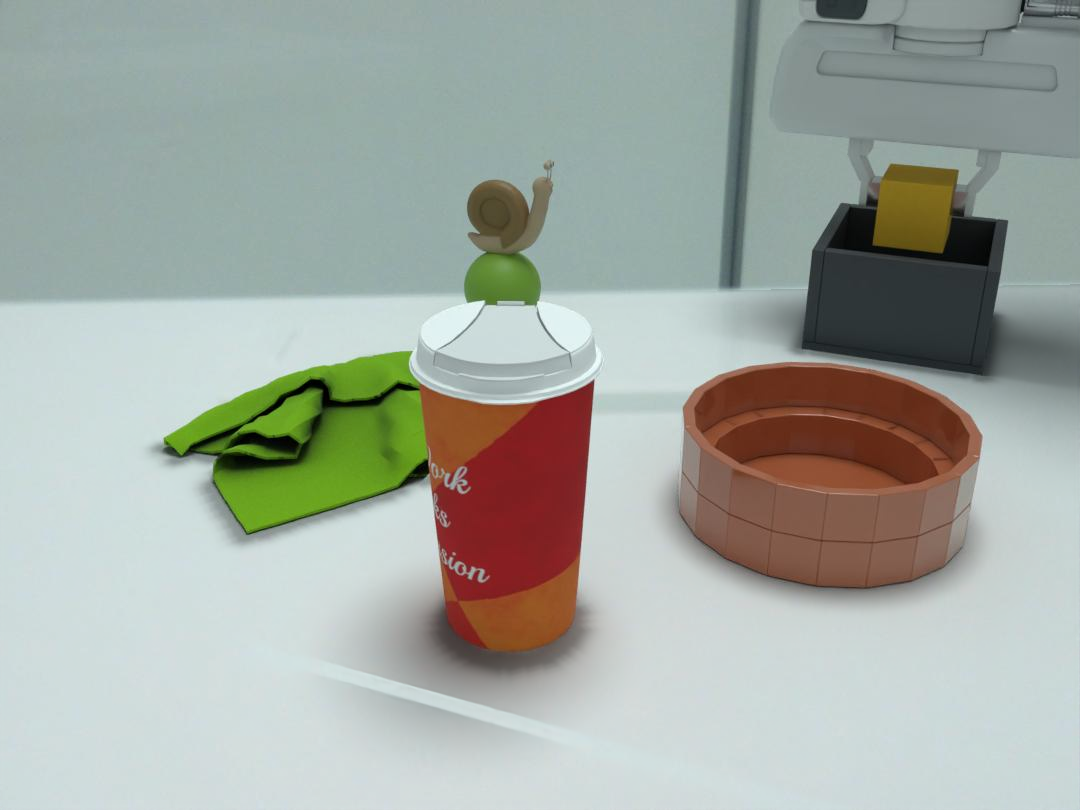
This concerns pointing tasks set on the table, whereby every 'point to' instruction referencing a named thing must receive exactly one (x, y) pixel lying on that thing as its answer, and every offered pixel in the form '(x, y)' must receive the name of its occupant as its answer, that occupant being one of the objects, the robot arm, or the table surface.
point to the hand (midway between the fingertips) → (914, 209)
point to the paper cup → (508, 464)
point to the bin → (904, 293)
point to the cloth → (314, 439)
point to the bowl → (827, 473)
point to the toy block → (915, 208)
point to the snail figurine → (505, 241)
